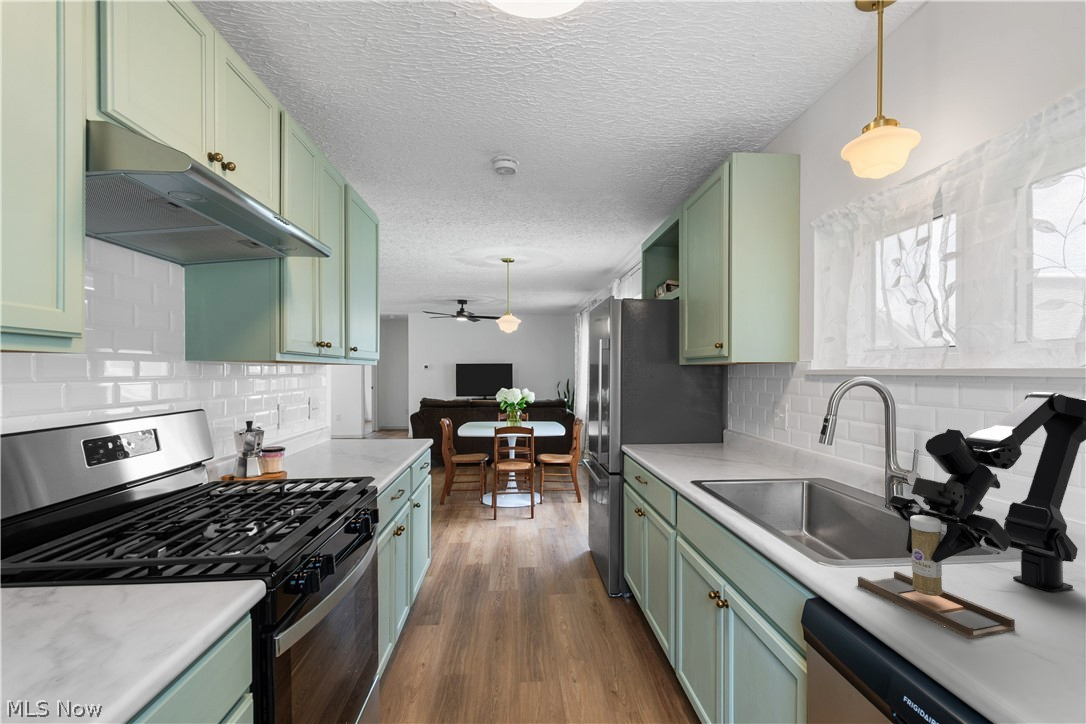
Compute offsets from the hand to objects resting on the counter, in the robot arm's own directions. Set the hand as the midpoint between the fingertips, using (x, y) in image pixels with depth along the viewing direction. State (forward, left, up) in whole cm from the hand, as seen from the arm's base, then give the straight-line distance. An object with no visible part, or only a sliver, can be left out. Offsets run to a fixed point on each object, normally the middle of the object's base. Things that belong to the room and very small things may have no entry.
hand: (920, 556), depth 93 cm
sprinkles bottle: (-1, 0, -7) cm, 7 cm away
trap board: (-2, 0, -9) cm, 9 cm away
